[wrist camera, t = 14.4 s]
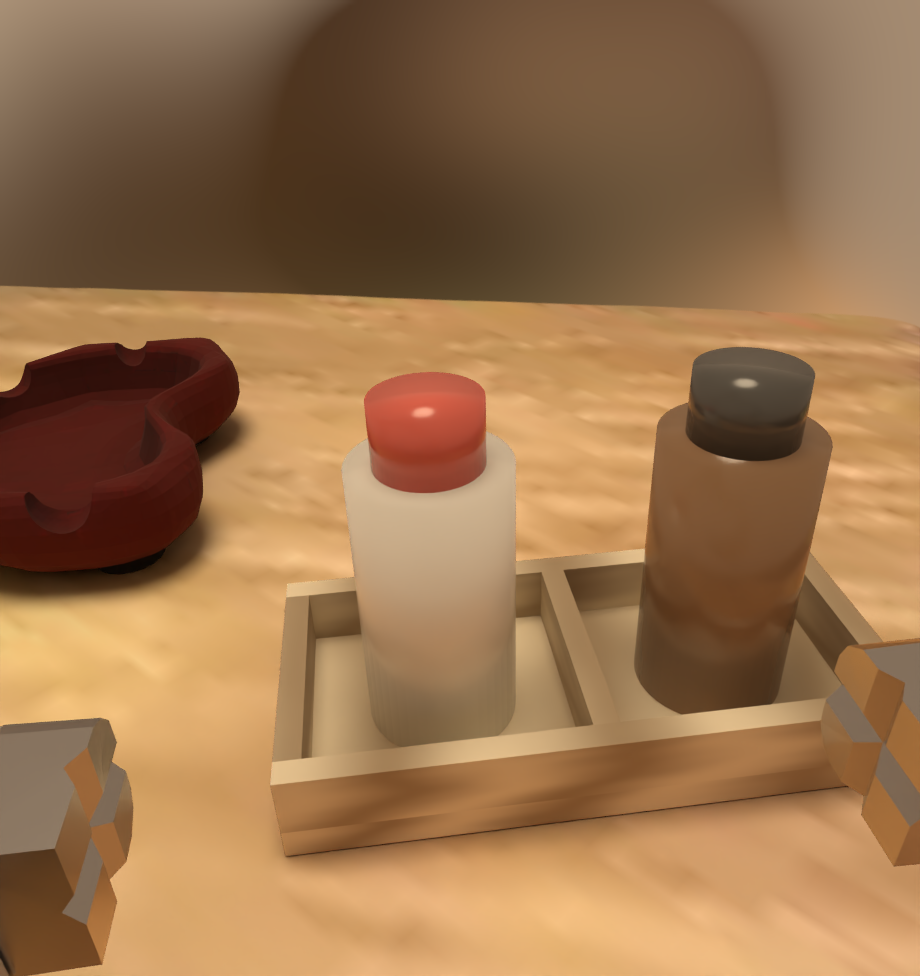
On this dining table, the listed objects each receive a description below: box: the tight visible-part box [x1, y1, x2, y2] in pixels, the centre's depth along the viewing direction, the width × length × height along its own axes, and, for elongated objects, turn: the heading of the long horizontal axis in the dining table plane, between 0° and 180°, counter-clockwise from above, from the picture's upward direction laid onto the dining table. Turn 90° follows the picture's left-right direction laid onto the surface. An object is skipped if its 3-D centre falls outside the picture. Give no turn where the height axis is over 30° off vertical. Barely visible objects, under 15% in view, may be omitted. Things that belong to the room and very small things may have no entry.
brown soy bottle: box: [634, 347, 833, 715], centre depth 26 cm, size 5×5×11 cm
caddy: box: [270, 549, 883, 856], centre depth 29 cm, size 19×9×3 cm, turn 97°
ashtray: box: [0, 338, 240, 574], centre depth 42 cm, size 18×16×5 cm
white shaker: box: [342, 372, 516, 747], centre depth 26 cm, size 5×5×11 cm
